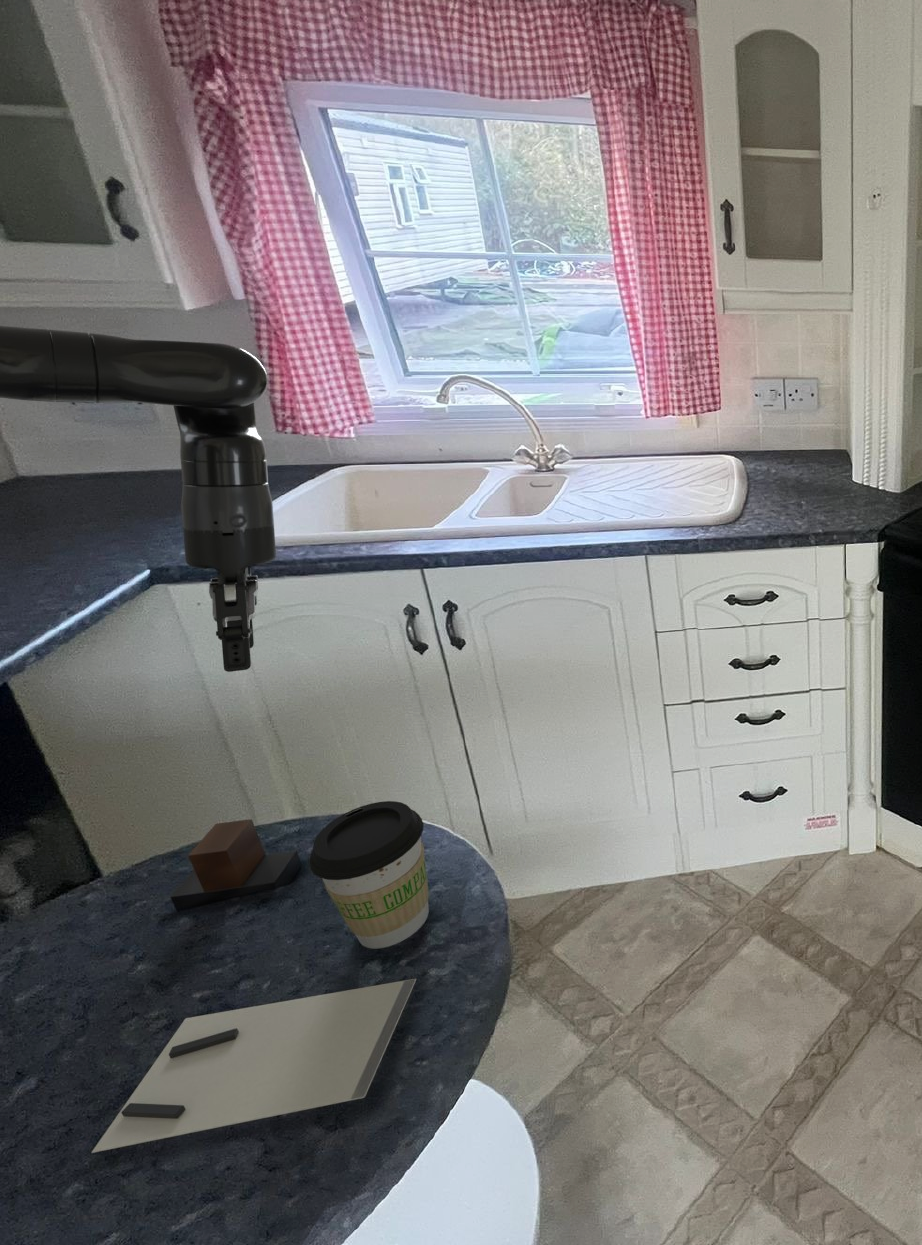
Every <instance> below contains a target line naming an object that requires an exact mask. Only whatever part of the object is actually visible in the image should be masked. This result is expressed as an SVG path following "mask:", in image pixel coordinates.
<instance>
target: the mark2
mask: <svg viewBox="0 0 922 1245" xmlns="http://www.w3.org/2000/svg"><path fill="white" fill-rule="evenodd" d="M184 1111H185V1107H184V1105H164V1104H141V1103H130V1104H129V1105H128V1106H127V1107H126V1108H125V1109H124V1110H123V1111H122V1112H121V1113H122V1115H123V1116H126V1117H149V1118H172V1119H178V1118H179V1116H180V1115H181V1114H182V1113H183V1112H184Z"/></svg>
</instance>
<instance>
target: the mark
mask: <svg viewBox="0 0 922 1245" xmlns="http://www.w3.org/2000/svg"><path fill="white" fill-rule="evenodd" d="M238 1033H239V1031H238V1029H237V1028H235V1029H232V1030H229V1031H225V1032H222V1033H218V1034H215V1035H212V1036H208V1037H205V1038H201V1039H198V1040H195V1041H191V1042H188V1043H184V1044H181V1045H177V1046H174V1047H172V1049H171V1051H170V1053H169V1056H170V1058H174V1057H178V1056H181V1055H184V1054H188V1053H191V1052H194V1051H198V1050H201V1049H205V1048H208V1047H211V1046H215V1045H218V1044H221V1043H225V1042H228V1041H231V1040H235V1039H236V1038H237V1035H238Z"/></svg>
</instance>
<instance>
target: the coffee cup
mask: <svg viewBox="0 0 922 1245" xmlns="http://www.w3.org/2000/svg"><path fill="white" fill-rule="evenodd" d="M423 832H424V821H423V819H422V817H421V815H420V814H418V812H416V810H413V809H412V808H411V807H410V806H408V805H407V804H406V803H404V802H400V801H394V800H384V801H377V802H372V803H368V804H365V805H361V806H359V807H356V808H353V809H351V810H348V811H346V812H345V813H343V814H341V815H339V816H338V817H337V818H335V819H333V820H332V821H331V822H329V823H328V824H327V825H326V826H324V827H323V828H322V830H320V831H319V833H318V834H317V835H316V837H315V839H314V840H313V845H312V848H311V852H310V854H309V867H310V868H309V869H310V871H311V873H312V874H313V875H314V876H316V877H318V878H319V879H322V881H323V884H324V889H325V890H326V892H327V893H328V895H329V897H330V898H331V900H332V902H333V904H334V905H335V906H336V908H337V910H338V912H339V913H340V915H341V917H342V918H343V920H344V922H345V923H346V925H347V927H348V928H349V930H350V931H351V932H352V934H354V936H356V938H357V940H358V942H359V943H360V944H361V946H363V947H365V948H367V949H375V950H376V949H384V948H389V947H391V946H394V945H397V944H399V943H401V942H403V941H404V940H406V939H408V938H410V937H412V935H414V934H415V933H416V932H418V930H419V929H420V928H422V926H423V925H424V924H425V922H426V920H427V919H428V917H429V912H430V910H429V908H430V907H429V885H428V883H429V882H428V877H427V876H428V874H427V864H426V856H425V847H424V844H423V840H422V838H421V837H422V835H423Z"/></svg>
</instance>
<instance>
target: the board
mask: <svg viewBox="0 0 922 1245" xmlns="http://www.w3.org/2000/svg"><path fill="white" fill-rule="evenodd" d="M416 981H417V978H411V979H405V980H399V981H394V982H388V983H387V982H386V983H382V984H377V985H370V986H363V987H359V988H353V989H352V988H351V989H348V990H342V991H336V992H330V993H323V994H319V995H318V994H317V995H312V996H307V997H306V996H305V997H302V998H295V999H290V1000H284V1001H278V1002H273V1003H266V1004H261V1005H254V1006H249V1007H243V1008H237V1009H233V1010H232V1009H231V1010H226V1011H220V1012H214V1013H208V1014H203V1015H198V1016H197V1015H196V1016H192V1017H186V1018H184V1020H183V1021H182V1023H181V1024H180V1025H179V1027H178V1028H177V1030H176V1031H175V1033H174V1034H173V1036H172V1037H171V1039H169V1041H168V1043H167V1044H166V1045H165V1047H164V1048H163V1050H162V1051H161V1053H160V1054H159V1056H158V1057H157V1058H156V1060H155V1061H154V1063H153V1064H152V1066H151V1067H150V1068H149V1070H147V1072H146V1074H145V1075H144V1077H143V1078H142V1079H141V1081H140V1082H139V1084H138V1085H137V1087H136V1088H135V1089H134V1091H133V1093H132V1094H131V1095H130V1097H129V1098H128V1100H127V1101H126V1103H125V1104H124V1105H123V1107H122V1108H121V1110H120V1111H119V1112H118V1114H117V1115H116V1116H115V1118H114V1120H113V1121H112V1123H111V1124H110V1125H109V1127H108V1128H107V1129H106V1131H105V1132H104V1133H103V1135H102V1136H101V1138H100V1139H99V1141H98V1142H97V1144H96V1145H95V1146H94V1148H93V1149H92V1150H91V1153H90V1154H94V1153H100V1152H104V1151H108V1150H114V1149H118V1148H124V1147H128V1146H129V1147H130V1146H134V1145H137V1144H138V1145H139V1144H143V1143H144V1144H145V1143H148V1142H153V1141H158V1140H163V1139H168V1138H172V1137H173V1138H174V1137H177V1136H183V1135H188V1134H193V1133H198V1132H202V1131H207V1130H212V1129H217V1128H222V1127H227V1126H232V1125H236V1124H241V1123H248V1122H252V1121H256V1120H262V1119H267V1118H271V1117H276V1116H280V1115H286V1114H291V1113H296V1112H301V1111H306V1110H311V1109H316V1108H321V1107H325V1106H330V1105H336V1104H342V1103H345V1102H350V1101H355V1100H361V1099H364V1098H366V1096H367V1094H368V1091H369V1089H370V1087H371V1084H372V1082H373V1080H374V1077H375V1075H376V1073H377V1070H378V1068H379V1067H380V1063H381V1062H382V1058H383V1056H384V1054H385V1052H386V1050H387V1047H388V1045H389V1043H390V1041H391V1038H392V1036H393V1034H394V1032H395V1030H396V1027H397V1025H398V1023H399V1020H400V1018H401V1016H402V1013H403V1011H404V1009H405V1007H406V1004H407V1002H408V1000H409V997H410V995H411V993H412V990H413V989H414V986H415V984H416ZM235 1028H237V1029H238V1031H239V1033H238V1035H237V1038H236V1039H235V1040H231V1041H228V1042H225V1043H221V1044H218V1045H215V1046H211V1047H208V1048H205V1049H201V1050H198V1051H194V1052H191V1053H188V1054H184V1055H181V1056H178V1057H174V1058H170V1056H169V1053H170V1051H171V1049H172V1047H174V1046H177V1045H181V1044H184V1043H188V1042H191V1041H195V1040H198V1039H201V1038H205V1037H208V1036H212V1035H215V1034H218V1033H222V1032H225V1031H229V1030H232V1029H235ZM130 1103H141V1104H164V1105H184V1107H185V1111H184V1112H183V1113H182V1114H181V1115H180V1116H179V1118H178V1119H172V1118H149V1117H126V1116H123V1115H122V1113H121V1112H122V1111H123V1110H124V1109H125V1108H126V1107H127V1106H128V1105H129V1104H130Z"/></svg>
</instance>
